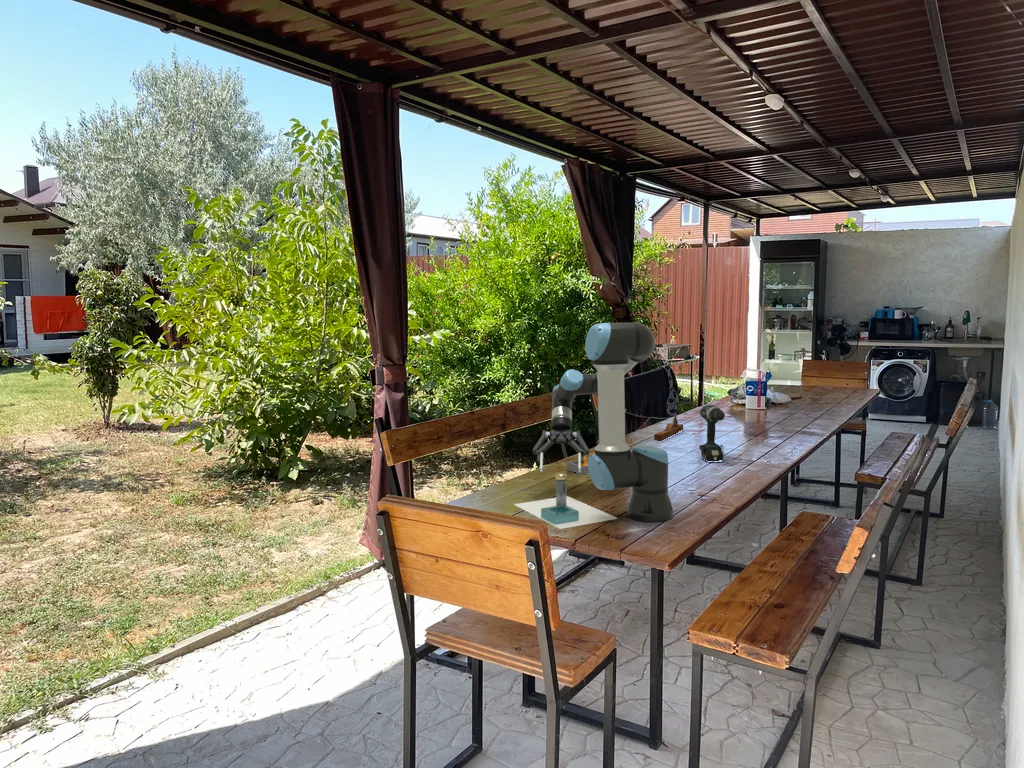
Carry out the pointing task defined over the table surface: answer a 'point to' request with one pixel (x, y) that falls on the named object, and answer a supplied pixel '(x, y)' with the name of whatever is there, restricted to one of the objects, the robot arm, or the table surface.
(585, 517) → the board
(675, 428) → the hand plane
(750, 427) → the table surface
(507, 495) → the table surface
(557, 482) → the gold capped grey cylinder
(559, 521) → the teal square frame
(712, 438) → the power drill
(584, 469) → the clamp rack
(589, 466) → the robot arm
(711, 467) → the table surface
